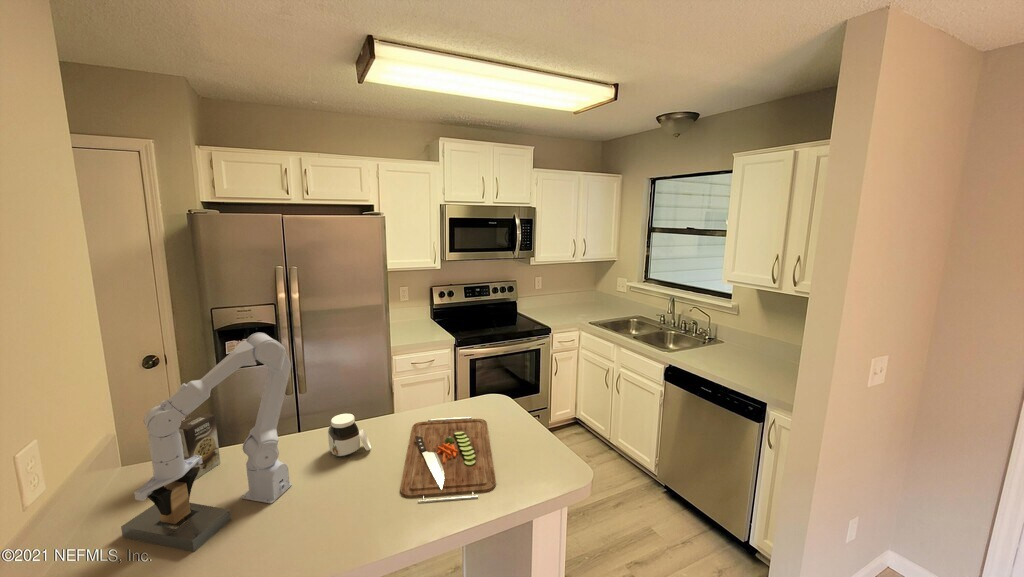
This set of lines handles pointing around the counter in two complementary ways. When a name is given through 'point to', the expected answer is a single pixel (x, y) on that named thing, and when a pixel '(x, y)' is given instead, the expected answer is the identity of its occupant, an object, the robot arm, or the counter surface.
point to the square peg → (177, 502)
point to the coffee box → (200, 441)
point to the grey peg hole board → (184, 537)
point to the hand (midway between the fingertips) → (175, 507)
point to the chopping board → (448, 459)
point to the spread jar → (346, 436)
